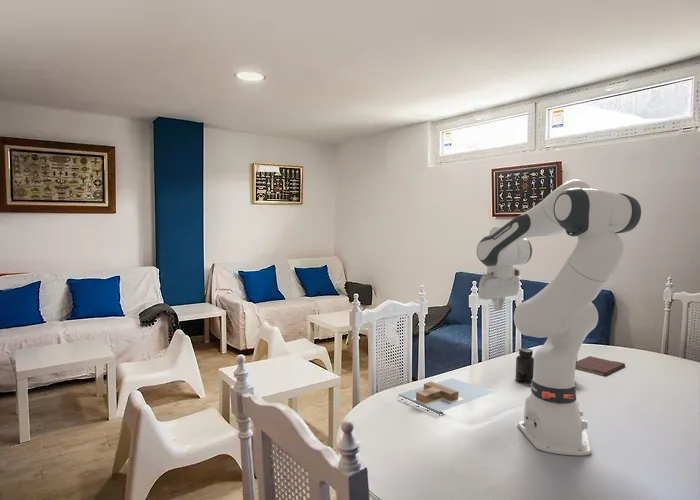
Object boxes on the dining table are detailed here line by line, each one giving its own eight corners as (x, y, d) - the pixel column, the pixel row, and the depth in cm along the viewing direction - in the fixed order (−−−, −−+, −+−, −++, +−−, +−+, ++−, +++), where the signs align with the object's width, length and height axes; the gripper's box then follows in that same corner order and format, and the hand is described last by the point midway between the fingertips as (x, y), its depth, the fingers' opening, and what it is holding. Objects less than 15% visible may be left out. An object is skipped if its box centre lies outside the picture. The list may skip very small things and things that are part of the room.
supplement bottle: (537, 383, 176) (538, 352, 175) (518, 383, 176) (519, 352, 175) (530, 377, 183) (531, 347, 182) (512, 377, 183) (513, 347, 182)
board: (452, 381, 177) (452, 377, 177) (492, 396, 163) (492, 391, 163) (399, 398, 160) (399, 394, 159) (439, 416, 145) (439, 411, 145)
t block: (431, 388, 166) (431, 381, 165) (458, 398, 156) (458, 391, 156) (407, 395, 158) (407, 388, 158) (434, 407, 149) (434, 399, 149)
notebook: (567, 367, 197) (568, 363, 197) (588, 359, 209) (588, 355, 209) (605, 377, 185) (605, 372, 185) (625, 367, 198) (625, 363, 198)
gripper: (489, 274, 159) (488, 314, 160) (522, 270, 172) (521, 307, 173) (474, 272, 164) (473, 311, 165) (507, 269, 177) (506, 305, 177)
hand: (498, 309), depth 169 cm, fingers closed
